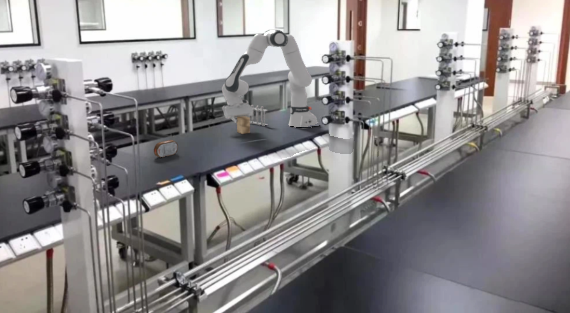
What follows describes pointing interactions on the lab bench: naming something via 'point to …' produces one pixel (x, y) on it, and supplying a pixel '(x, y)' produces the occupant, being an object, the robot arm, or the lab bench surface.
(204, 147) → the lab bench surface
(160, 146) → the tin
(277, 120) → the lab bench surface
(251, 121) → the test tube rack
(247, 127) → the oak block
